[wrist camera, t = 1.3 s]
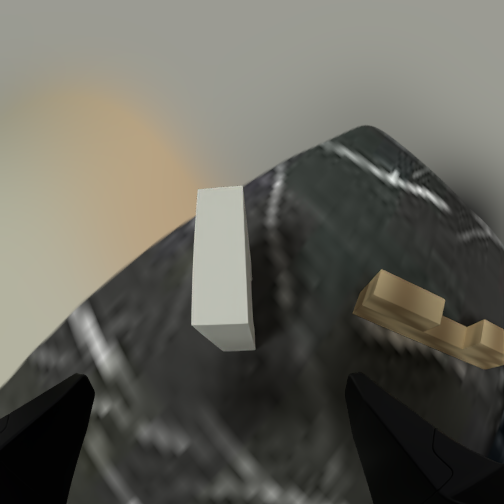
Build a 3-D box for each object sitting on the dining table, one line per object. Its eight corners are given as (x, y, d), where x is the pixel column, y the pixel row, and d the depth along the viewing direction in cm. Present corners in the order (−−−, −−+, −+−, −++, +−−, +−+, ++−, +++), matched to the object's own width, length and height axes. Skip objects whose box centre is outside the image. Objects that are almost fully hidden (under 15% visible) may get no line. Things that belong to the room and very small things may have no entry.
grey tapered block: (255, 349, 21) (248, 323, 12) (223, 351, 21) (191, 325, 12) (251, 261, 24) (242, 185, 15) (222, 263, 24) (197, 189, 15)
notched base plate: (488, 350, 19) (521, 339, 14) (484, 369, 18) (518, 361, 13) (360, 292, 22) (381, 269, 18) (352, 313, 22) (373, 294, 17)
